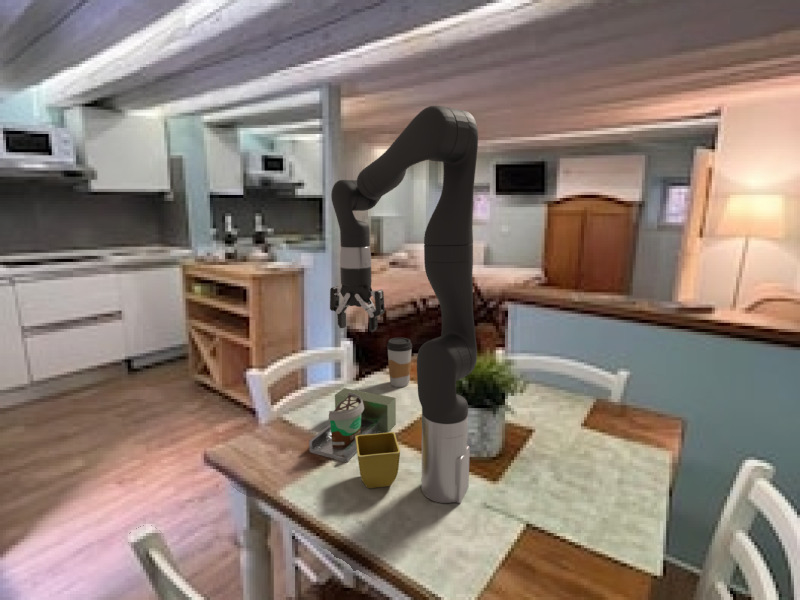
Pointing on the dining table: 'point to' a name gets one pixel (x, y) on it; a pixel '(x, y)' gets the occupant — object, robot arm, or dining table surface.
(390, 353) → the coffee cup
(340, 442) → the food container
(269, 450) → the dining table surface
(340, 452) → the grey dustpan tray
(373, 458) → the flower pot
